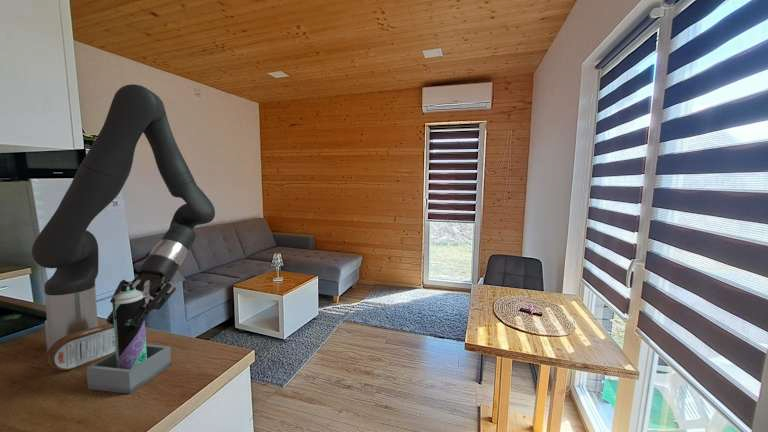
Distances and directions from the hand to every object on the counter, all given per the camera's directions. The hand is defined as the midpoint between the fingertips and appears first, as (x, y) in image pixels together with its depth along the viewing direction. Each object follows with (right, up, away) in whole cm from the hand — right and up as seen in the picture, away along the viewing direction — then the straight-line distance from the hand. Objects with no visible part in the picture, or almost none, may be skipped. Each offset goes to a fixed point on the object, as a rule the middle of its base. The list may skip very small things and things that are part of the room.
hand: (122, 324), depth 67 cm
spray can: (0, -11, +3) cm, 11 cm away
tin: (-16, -13, +9) cm, 22 cm away
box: (0, -13, +3) cm, 14 cm away
